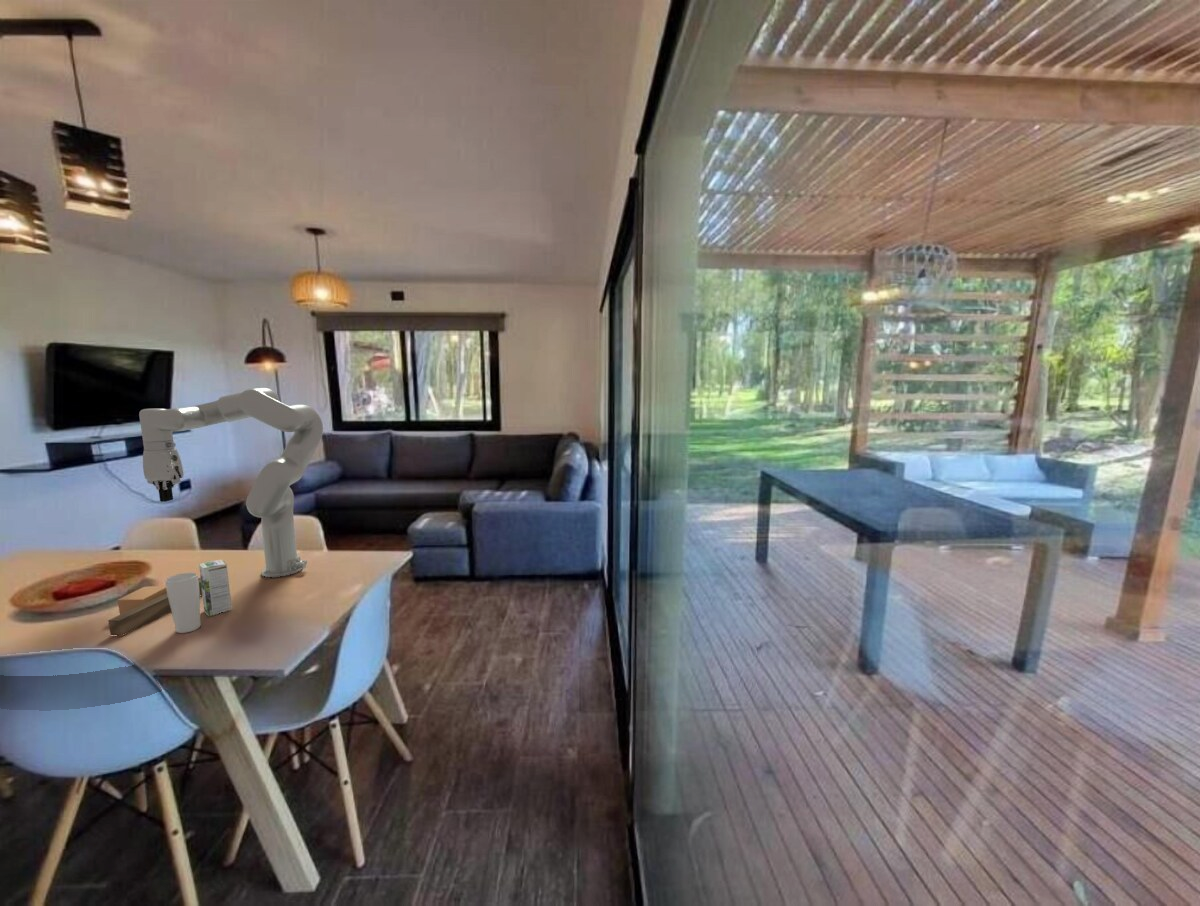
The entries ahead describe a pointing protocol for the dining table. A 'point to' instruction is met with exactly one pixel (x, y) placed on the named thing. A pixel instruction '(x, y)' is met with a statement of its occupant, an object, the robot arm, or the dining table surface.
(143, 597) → the tan block
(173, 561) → the dining table surface
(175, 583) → the drinking glass
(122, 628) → the walnut board
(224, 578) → the syrup box
